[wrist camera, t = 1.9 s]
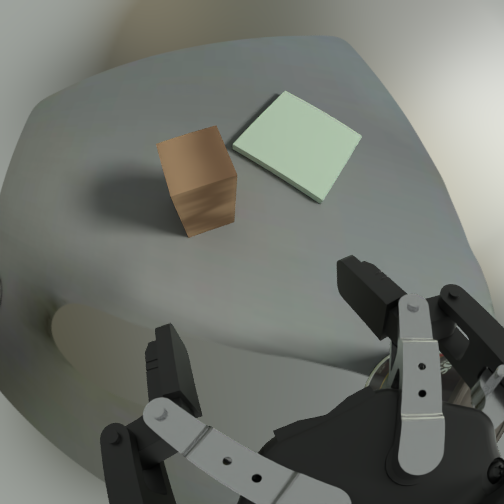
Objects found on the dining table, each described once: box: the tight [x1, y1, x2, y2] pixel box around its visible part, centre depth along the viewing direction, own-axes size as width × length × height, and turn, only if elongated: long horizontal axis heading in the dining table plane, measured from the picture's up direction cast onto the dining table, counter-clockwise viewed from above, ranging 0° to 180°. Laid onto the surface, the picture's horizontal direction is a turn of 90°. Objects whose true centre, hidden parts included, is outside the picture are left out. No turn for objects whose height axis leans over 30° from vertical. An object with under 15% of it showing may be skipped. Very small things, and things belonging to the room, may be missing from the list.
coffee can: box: [365, 353, 504, 442], centre depth 20 cm, size 10×10×14 cm
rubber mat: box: [233, 91, 362, 204], centre depth 32 cm, size 12×12×1 cm
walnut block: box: [156, 126, 237, 237], centre depth 25 cm, size 5×5×10 cm
